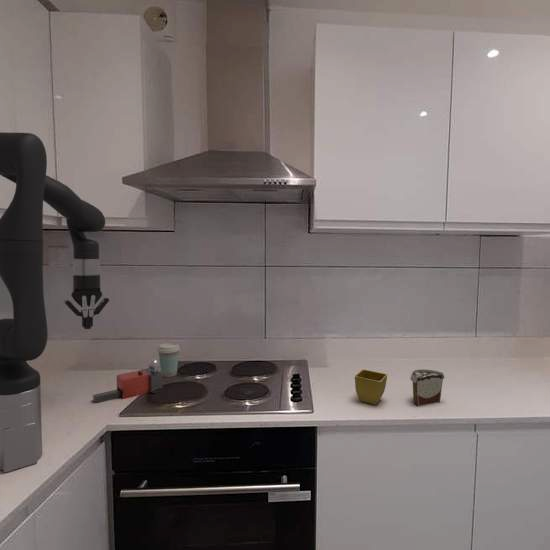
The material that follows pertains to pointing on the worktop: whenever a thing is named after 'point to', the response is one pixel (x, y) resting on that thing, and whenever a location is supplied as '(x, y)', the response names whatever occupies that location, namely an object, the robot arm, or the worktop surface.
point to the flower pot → (370, 386)
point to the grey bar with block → (155, 383)
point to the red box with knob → (133, 383)
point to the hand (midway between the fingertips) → (87, 328)
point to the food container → (426, 386)
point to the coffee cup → (168, 358)
